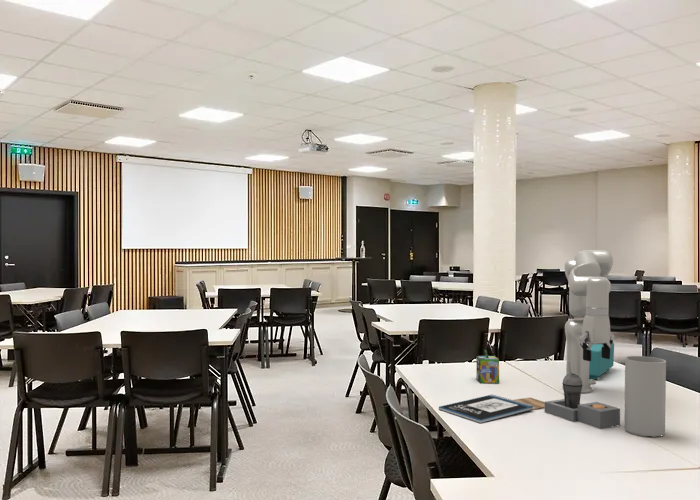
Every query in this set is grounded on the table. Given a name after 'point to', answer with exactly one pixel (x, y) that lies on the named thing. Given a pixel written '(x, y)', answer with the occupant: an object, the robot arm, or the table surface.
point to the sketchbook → (486, 408)
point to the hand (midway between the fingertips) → (596, 359)
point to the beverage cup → (572, 389)
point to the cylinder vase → (645, 395)
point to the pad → (532, 403)
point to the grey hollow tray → (585, 413)
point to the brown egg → (598, 406)
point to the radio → (599, 361)
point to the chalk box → (487, 369)
